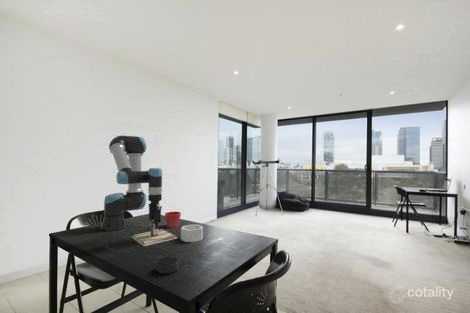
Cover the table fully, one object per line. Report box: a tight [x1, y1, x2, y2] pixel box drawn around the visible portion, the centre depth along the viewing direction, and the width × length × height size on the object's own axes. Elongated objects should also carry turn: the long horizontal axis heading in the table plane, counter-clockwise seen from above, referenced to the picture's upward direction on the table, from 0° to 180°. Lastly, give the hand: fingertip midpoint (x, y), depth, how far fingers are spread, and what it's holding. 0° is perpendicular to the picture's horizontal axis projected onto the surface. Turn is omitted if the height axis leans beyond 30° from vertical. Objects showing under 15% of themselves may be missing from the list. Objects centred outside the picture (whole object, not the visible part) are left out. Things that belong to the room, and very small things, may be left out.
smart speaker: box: [156, 256, 179, 275], centre depth 96 cm, size 9×9×4 cm
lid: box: [133, 220, 176, 246], centre depth 135 cm, size 18×18×10 cm
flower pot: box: [164, 211, 182, 228], centre depth 160 cm, size 11×11×10 cm
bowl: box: [180, 224, 204, 243], centre depth 134 cm, size 12×12×7 cm
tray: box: [131, 236, 178, 247], centre depth 135 cm, size 20×20×1 cm
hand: (154, 233), depth 135 cm, fingers closed on lid, 3 cm apart
